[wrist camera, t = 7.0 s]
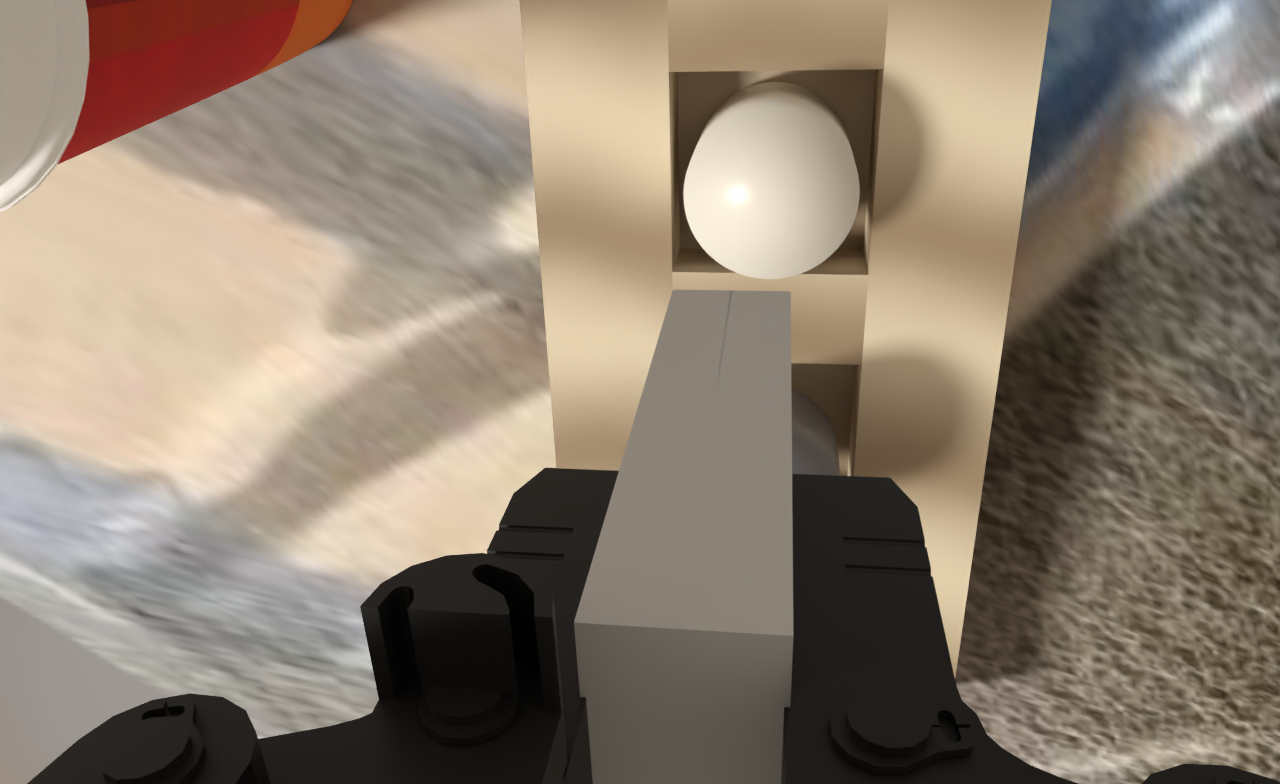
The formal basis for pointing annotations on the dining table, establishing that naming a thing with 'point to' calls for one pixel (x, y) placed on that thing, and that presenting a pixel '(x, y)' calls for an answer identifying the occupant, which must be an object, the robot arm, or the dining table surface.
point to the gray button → (812, 439)
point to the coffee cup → (129, 68)
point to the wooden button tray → (847, 280)
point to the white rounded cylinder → (772, 182)
